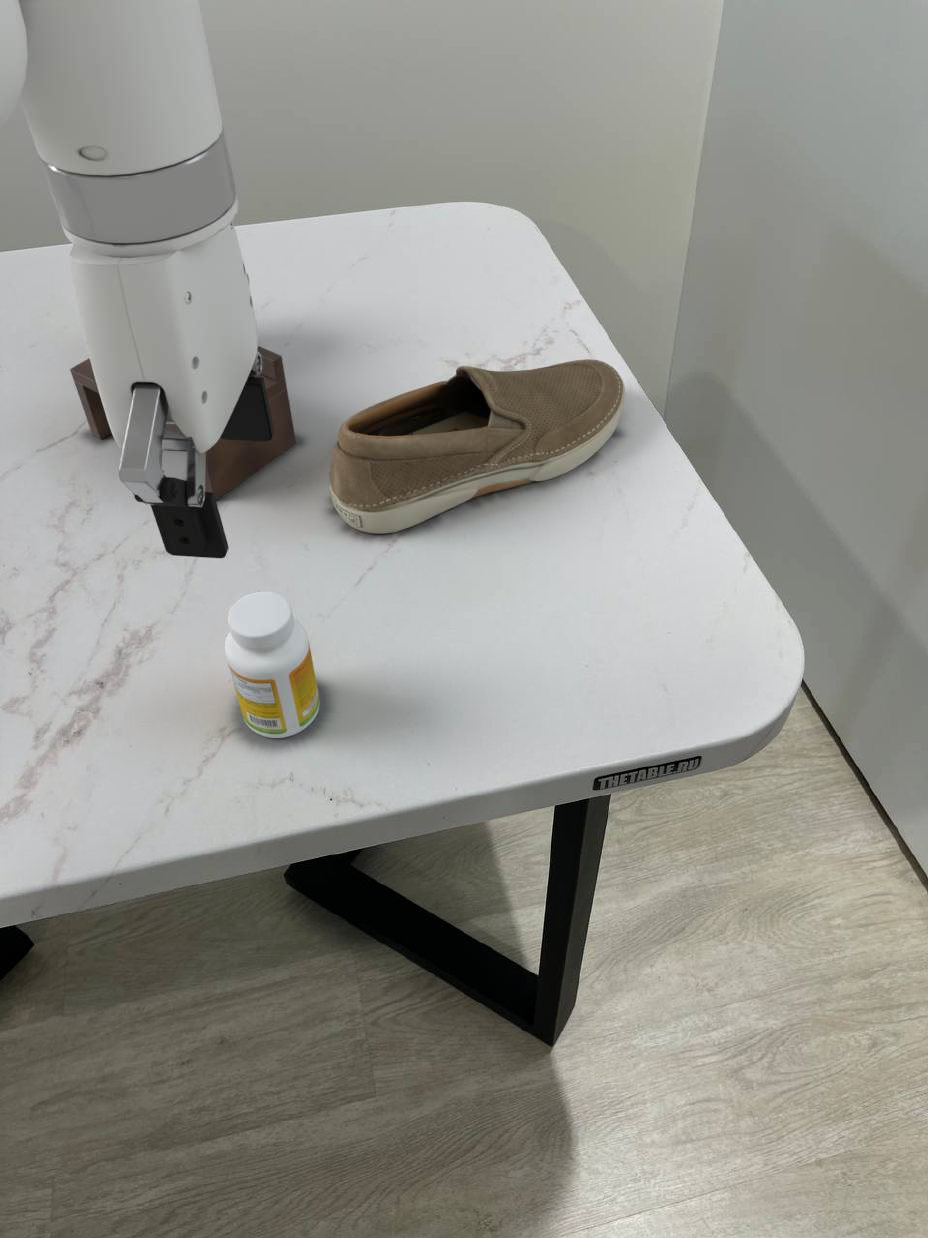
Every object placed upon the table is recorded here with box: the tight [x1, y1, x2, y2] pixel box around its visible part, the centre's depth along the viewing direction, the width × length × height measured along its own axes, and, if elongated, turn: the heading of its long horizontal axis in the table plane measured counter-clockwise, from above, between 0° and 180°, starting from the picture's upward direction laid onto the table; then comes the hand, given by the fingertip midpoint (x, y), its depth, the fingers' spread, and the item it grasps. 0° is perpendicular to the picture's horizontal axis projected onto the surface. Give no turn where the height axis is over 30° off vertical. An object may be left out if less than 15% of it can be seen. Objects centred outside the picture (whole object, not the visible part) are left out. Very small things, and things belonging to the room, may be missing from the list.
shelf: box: [69, 345, 297, 502], centre depth 89 cm, size 10×16×9 cm, turn 54°
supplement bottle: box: [224, 591, 320, 739], centre depth 67 cm, size 5×5×10 cm
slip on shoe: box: [329, 358, 626, 534], centre depth 86 cm, size 30×11×9 cm, turn 121°
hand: (224, 491), depth 56 cm, fingers open, 9 cm apart
